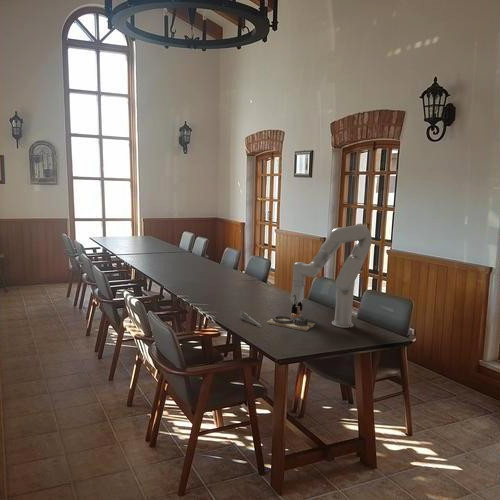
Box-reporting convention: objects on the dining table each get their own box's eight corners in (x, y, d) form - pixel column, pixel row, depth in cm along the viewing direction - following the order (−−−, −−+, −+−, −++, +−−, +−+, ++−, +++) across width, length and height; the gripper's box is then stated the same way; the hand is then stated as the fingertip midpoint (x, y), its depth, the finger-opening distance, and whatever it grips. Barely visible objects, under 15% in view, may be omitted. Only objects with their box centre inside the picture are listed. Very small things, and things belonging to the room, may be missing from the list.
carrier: (277, 318, 294) (277, 307, 294) (314, 325, 283) (315, 314, 283) (266, 323, 282) (267, 312, 281) (305, 331, 271) (306, 320, 270)
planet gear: (293, 316, 300) (294, 304, 299) (303, 318, 297) (304, 306, 296) (288, 319, 294) (289, 306, 293) (299, 321, 291) (300, 308, 289)
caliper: (239, 319, 289) (239, 308, 288) (241, 318, 290) (241, 308, 289) (260, 328, 273) (261, 317, 272) (262, 328, 274) (262, 317, 273)
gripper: (298, 279, 301) (296, 307, 304) (287, 284, 286) (285, 313, 289) (310, 281, 298) (308, 310, 300) (299, 286, 283) (297, 316, 285)
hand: (296, 311), depth 295 cm, fingers open, 7 cm apart
